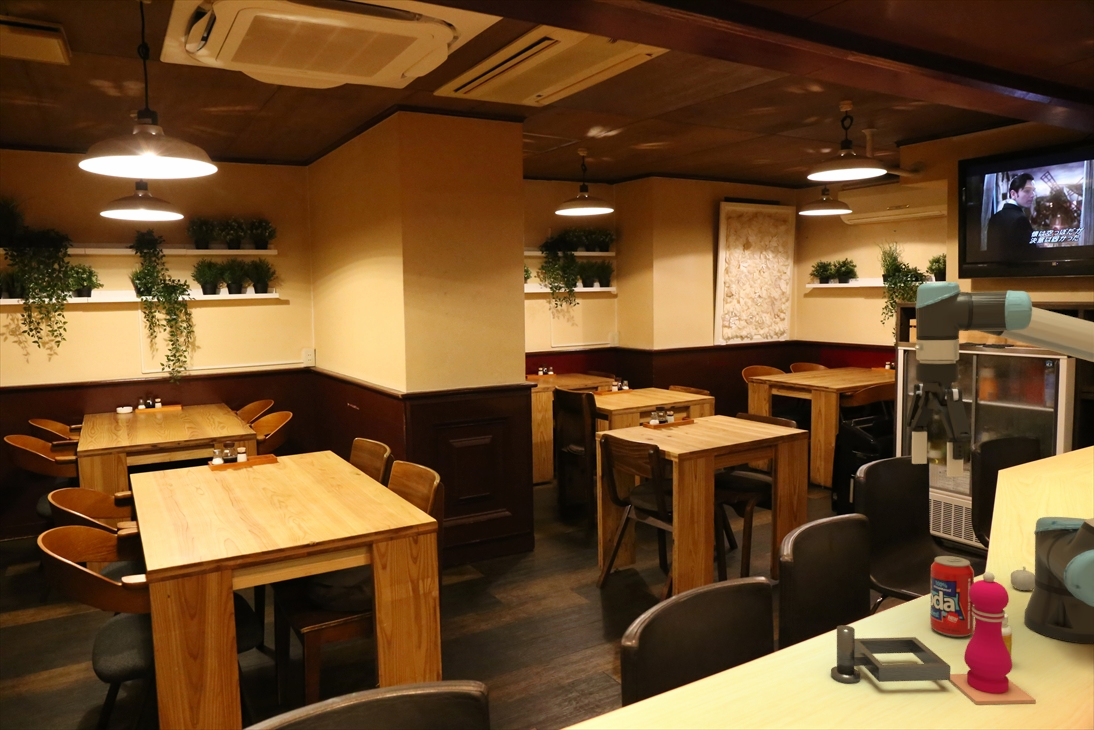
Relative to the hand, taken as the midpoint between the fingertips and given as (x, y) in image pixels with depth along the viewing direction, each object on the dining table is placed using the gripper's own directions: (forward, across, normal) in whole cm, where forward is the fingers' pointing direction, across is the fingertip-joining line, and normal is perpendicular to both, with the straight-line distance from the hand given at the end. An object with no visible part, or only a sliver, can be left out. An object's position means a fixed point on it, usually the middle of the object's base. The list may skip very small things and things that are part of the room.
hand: (936, 469), depth 153 cm
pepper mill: (+34, +20, -1) cm, 40 cm away
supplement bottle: (+35, +10, +6) cm, 37 cm away
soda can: (+35, -5, +6) cm, 36 cm away
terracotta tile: (+35, +20, -1) cm, 40 cm away
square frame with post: (+35, +14, -17) cm, 41 cm away
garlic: (+35, -29, +36) cm, 58 cm away
